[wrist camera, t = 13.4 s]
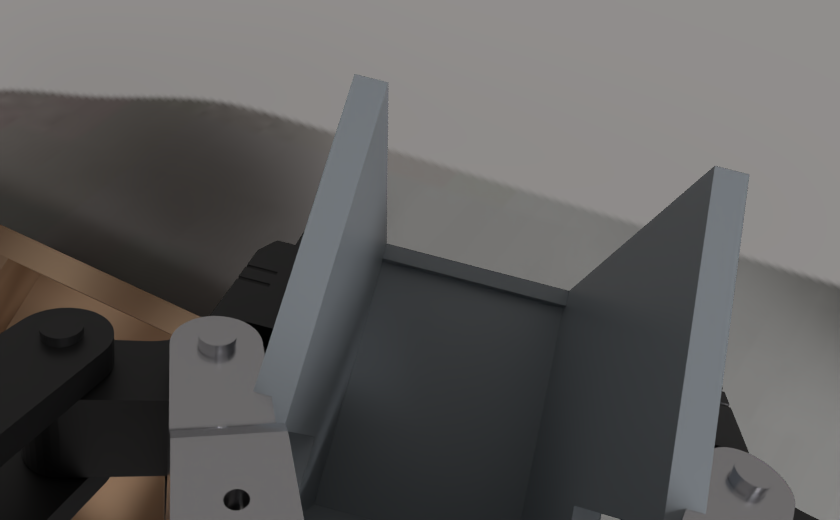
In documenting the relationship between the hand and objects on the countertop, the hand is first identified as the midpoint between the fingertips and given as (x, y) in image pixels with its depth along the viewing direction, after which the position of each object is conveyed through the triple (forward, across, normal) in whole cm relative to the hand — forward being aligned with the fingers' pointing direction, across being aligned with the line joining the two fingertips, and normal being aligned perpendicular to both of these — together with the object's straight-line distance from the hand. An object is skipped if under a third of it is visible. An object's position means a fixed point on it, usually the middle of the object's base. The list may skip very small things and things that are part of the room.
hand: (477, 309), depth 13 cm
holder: (+2, 0, +4) cm, 5 cm away
